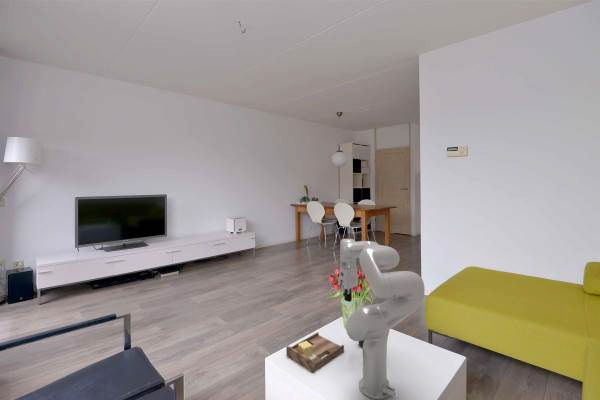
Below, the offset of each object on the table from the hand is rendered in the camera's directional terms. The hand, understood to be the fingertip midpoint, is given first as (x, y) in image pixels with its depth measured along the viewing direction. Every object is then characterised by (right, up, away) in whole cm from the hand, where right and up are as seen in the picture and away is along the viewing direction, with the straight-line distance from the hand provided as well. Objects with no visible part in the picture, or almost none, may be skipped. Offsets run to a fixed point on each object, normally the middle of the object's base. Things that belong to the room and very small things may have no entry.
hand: (348, 300), depth 138 cm
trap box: (-16, -27, +2) cm, 32 cm away
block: (-21, -25, -3) cm, 33 cm away
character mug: (+10, -27, +8) cm, 30 cm away
